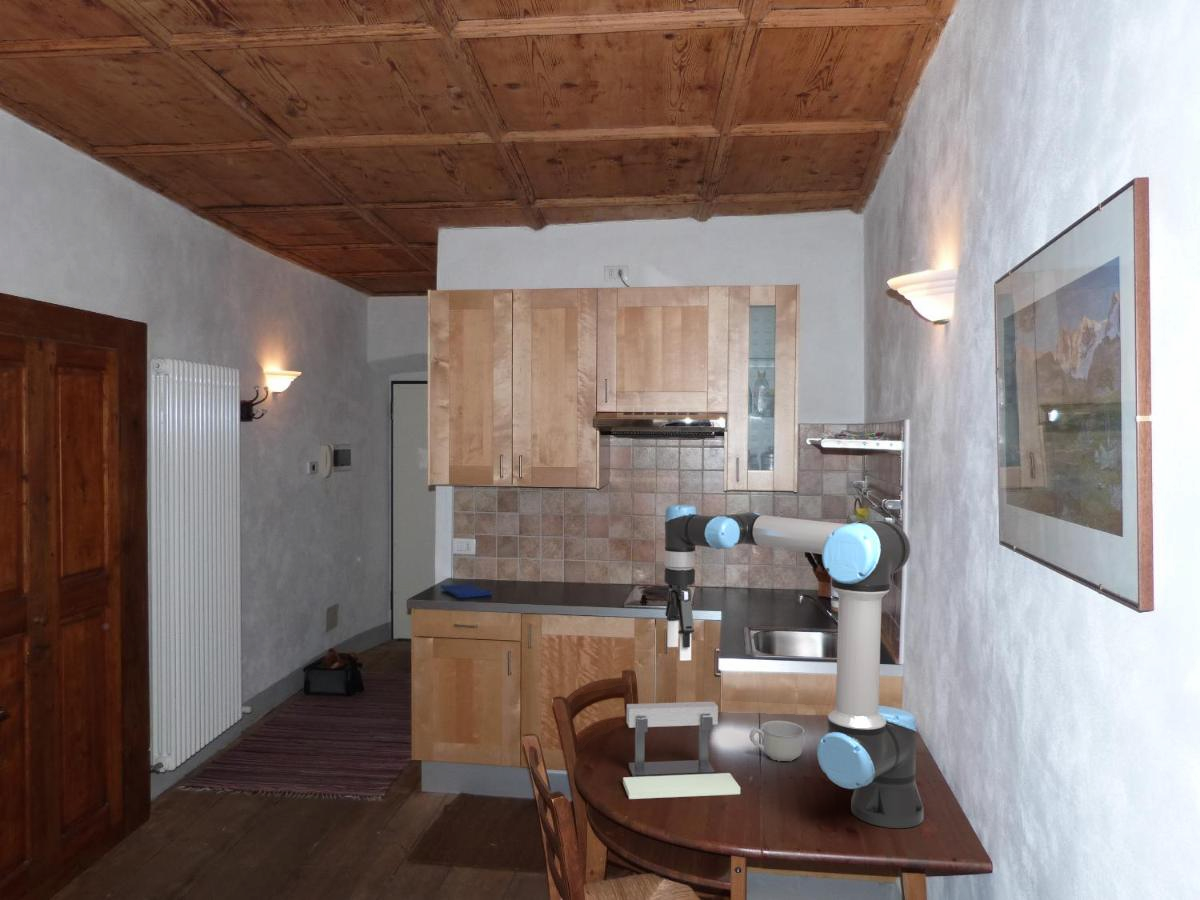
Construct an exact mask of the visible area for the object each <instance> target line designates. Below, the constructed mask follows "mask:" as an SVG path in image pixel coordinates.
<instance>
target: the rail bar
mask: <svg viewBox="0 0 1200 900" xmlns="http://www.w3.org/2000/svg"><path fill="white" fill-rule="evenodd" d="M710 715H711V716H712V717H713V725H716V726H717V725H719V724H718V723H719V706H718V705H717V704H716V701H688V702H687V701H686V702H659V703H657V702H656V703H653V702H651V703H650V702H649V703H627V704H626V724H627V725H628V728H629V729H630V728H631V729H632V728H635V727H637V718H647V719H648V728H654V727H655V728H657V727H659V728H660V727H684V726H686V727H687V726H699V725H702V716H710Z"/></svg>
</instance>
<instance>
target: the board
mask: <svg viewBox="0 0 1200 900" xmlns="http://www.w3.org/2000/svg"><path fill="white" fill-rule="evenodd" d="M622 784H623V787H624V789H625V792H626V795H627V796H628V800H638V799H640V800H641V799H657V798H659V799H660V798H679V797H680V798H681V797H684V798H685V797H686V798H687V797H702V796H703V797H705V796H706V797H707V796H709V797H710V796H729V795H730V796H731V795H741V786H740V785H739V784H738V782H737V781H736V780H735V778H734V776H733V775H732V774H731V773H730V772H721V773H715V774H695V775H670V776H646V777H633V776H629V777H628V776H627V777H625V776H624V777H622Z"/></svg>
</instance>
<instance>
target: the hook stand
mask: <svg viewBox="0 0 1200 900" xmlns="http://www.w3.org/2000/svg"><path fill="white" fill-rule="evenodd" d="M648 728H649V727H648V719H647V718H637V727H634V730H635V731H634V762H628V770H629V771H630V773H631V775H632V776H631V777H646V776H670V775H695V774H717V773H716V770H715V769H714V767H713V766H712V764H711V763H710V762H709V757H710V755H709V753H710V752H709V750H710V747H709V746H710V745H709V737H710V736H709V735H710V733H709V732H710V731H712V730H713V717H712V716H711V715H710V716H702V725H698V759H695V760H694V759H693V760H692V759H691V760H669V761H667V760H665V761H645V748H646V747H645V743H646V741H645V739H646V736H645V733H647V732H648V731H649V730H648Z"/></svg>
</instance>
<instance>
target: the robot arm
mask: <svg viewBox="0 0 1200 900" xmlns="http://www.w3.org/2000/svg"><path fill="white" fill-rule="evenodd" d="M696 510H697V509H696V506H695V505H690V504H670V505H668V506H666V509H665V517H664V541H665V542H664V562H663V564H664V566H665V568H664V578H663V580H664V583H665V584H667V586H668V590H667V591H668V592H667V597H666V598H667V599H666V606H665V617H666V620H667V627H666V628H667V629H666V630H667V636H666V637H667V638H666V640H667V641H666V646H667V648H678V649H679V650H678V651H679V654H678V656H679V657H678V658H679V661H692V634H693V633H695V627H694V626H695V625H694V616H693V607H692V592H691V591H690V590H689V591H688V588H687V587H688V586H691V585H694V584H695V583H696V570H695V568H694V567H695V566H696V559H697V557H698V554H697V553H696V546H698V547H705V548H712V549H716V550H731V549H733V548H734V546H735V545H751V546H752V545H753V546H762V547H767V548H768V547H769V548H775V549H783V550H791V551H796V552H805V553H811V554H817V555H821V561H822V564H823V567H824V569H825V570H826V572H827V574H828V576H830V577H831V582H830V583H831V588H832V589H833V590H834V592H835V593H837V596H838V602H837V605H838V607H837V609H838V611H837V616H838V617H837V643H836V645H837V648H836V649H837V651H836V653H837V654H836V681H835V682H836V684H835V685H836V686H835V687H836V689H835V708H833V710H832V711H830V712H829V713H828V714H827V733H826V734H824V735H823V736H822V737H821V739H820V740H819V742H818V745H817V748H816V749H817V750H816V756H817V760H818V761H817V762H818V764H819V766H820V768H821V770H822V772H823V773H825V775H826V776H827V778H828V779H829V780H830V781H831V782H832V783H834V784H835V785H837V786H838V787H841V788H844V789H847V790H853V792H852V793H853V794H852V796H851V801H850V804H851V805H850V810H851V813H852V815H854V816H855V817H856V818H858V819H860V820H861V821H863V822H865V823H868V824H870V825H874V826H879V827H883V828H888V829H889V828H890V829H906V828H907V829H909V828H912V827H916V826H918V825H920V824H921V823H922V822H923V821H924V805H923V802H922V799H921V796H920V793H919V789H918V787H917V784H916V765H917V764H916V763H917V762H916V759H917V758H916V757H917V755H916V754H917V753H916V751H917V732H918V730H917V723H916V722H917V721H916V718H915V715H914V714H912V713H911V712H909V711H907V710H904V709H901V708H897V707H892V706H885V705H880V704H879V703H880V667H881V665H880V664H881V636H882V635H881V634H882V633H881V630H882V627H881V626H882V600H883V597H884V596H886V595H887V593H889V592H890V587H891V583H890V582H891V575H893V574H895V573H897V572H899V571H900V570H901V569H902V568H904V566H905V565H906V564H907V562H908V560H909V557H910V554H911V544H910V540H909V537H908V536H907V534H906V532H905V531H904V530H903V529H902V528H901V527H900V526H899V525H897V524H895V523H893V522H891V521H885V520H875V521H863V520H858V521H856V522H853V523H839V522H831V521H830V522H829V521H822V520H813V519H812V520H811V519H802V518H801V519H800V518H793V517H783V516H782V517H781V516H776V515H775V516H773V515H765V514H761V513H759V512H752V511H750V512H748V511H747V512H744V513H735V514H722V515H721V514H719V515H704V514H702V515H701V514H697V511H696ZM679 627H680V628H679Z"/></svg>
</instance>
